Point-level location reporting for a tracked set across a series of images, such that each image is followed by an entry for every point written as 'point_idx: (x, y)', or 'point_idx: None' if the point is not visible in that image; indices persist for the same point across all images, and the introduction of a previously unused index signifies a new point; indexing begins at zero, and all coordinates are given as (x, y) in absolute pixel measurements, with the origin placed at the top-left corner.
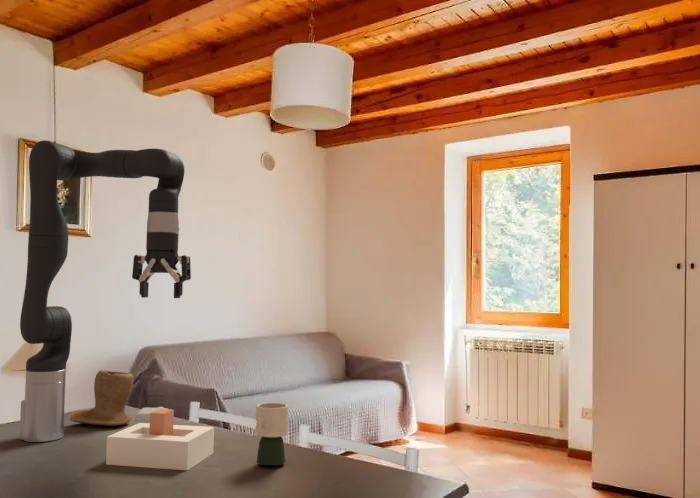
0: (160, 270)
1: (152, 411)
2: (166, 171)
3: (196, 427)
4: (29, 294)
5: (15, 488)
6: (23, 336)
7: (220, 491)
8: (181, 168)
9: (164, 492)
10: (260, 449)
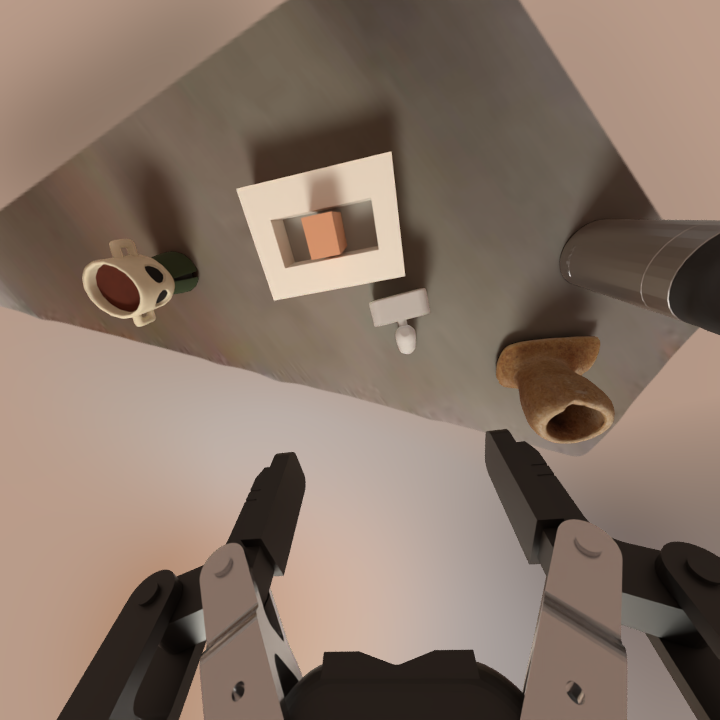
0: (383, 689)
1: (398, 305)
2: None
3: (296, 286)
4: None
5: None
6: None
7: (138, 116)
8: None
9: (199, 63)
10: (168, 258)
